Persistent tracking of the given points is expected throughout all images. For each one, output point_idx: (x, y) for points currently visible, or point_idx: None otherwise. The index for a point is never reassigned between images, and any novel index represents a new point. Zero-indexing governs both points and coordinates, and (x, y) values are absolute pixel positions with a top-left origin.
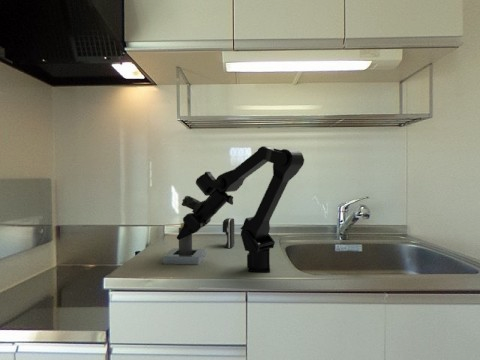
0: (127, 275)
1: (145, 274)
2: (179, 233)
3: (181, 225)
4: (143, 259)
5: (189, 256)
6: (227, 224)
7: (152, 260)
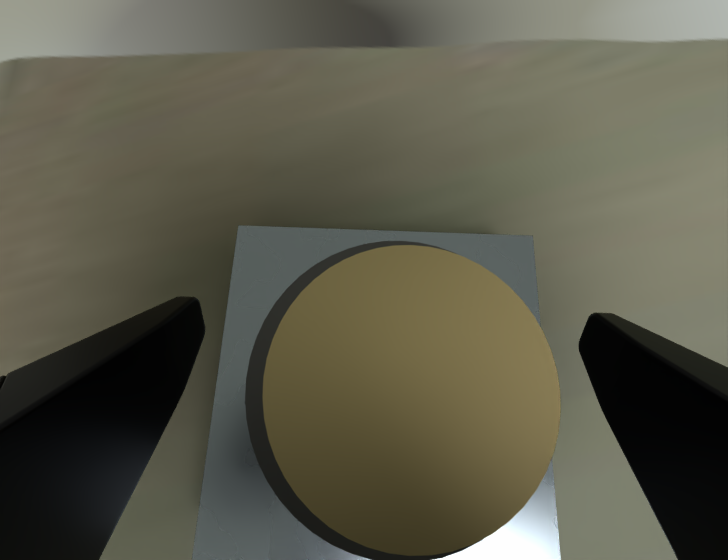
0: (13, 127)
1: (13, 214)
2: (99, 340)
3: (308, 301)
4: (368, 99)
5: (213, 462)
6: None
7: (345, 157)
